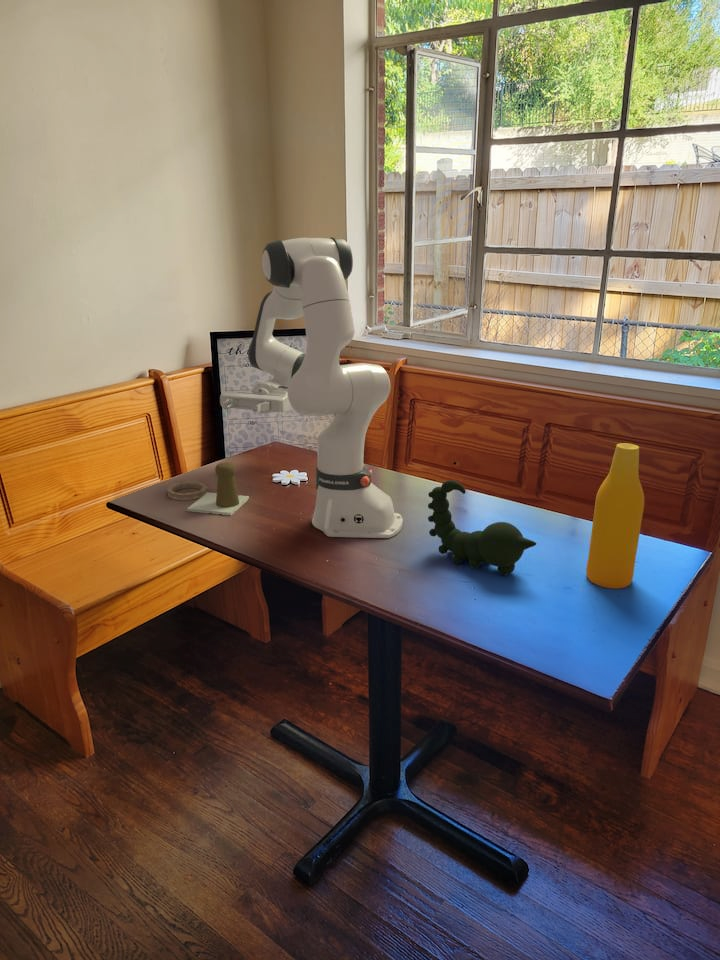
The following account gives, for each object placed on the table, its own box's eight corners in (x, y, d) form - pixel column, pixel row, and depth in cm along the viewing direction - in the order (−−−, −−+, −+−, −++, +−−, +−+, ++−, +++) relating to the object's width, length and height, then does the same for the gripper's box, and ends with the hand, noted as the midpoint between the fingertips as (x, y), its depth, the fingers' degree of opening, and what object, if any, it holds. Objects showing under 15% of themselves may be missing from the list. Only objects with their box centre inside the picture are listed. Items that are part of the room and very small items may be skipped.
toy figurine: (422, 563, 153) (525, 589, 138) (419, 482, 148) (525, 500, 132) (445, 549, 160) (545, 573, 145) (443, 471, 155) (547, 487, 139)
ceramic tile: (249, 499, 185) (248, 496, 185) (231, 515, 174) (230, 512, 174) (207, 495, 188) (207, 492, 188) (187, 511, 177) (187, 508, 177)
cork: (233, 508, 177) (231, 468, 173) (212, 506, 178) (209, 466, 174) (242, 500, 182) (240, 460, 178) (221, 498, 183) (219, 459, 180)
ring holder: (213, 488, 193) (213, 483, 192) (196, 501, 183) (196, 496, 183) (179, 485, 195) (179, 480, 195) (161, 497, 185) (160, 492, 185)
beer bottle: (576, 577, 144) (593, 445, 134) (600, 564, 150) (617, 436, 140) (617, 594, 137) (638, 456, 128) (640, 580, 143) (662, 446, 133)
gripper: (235, 384, 198) (206, 392, 186) (297, 388, 190) (272, 398, 178) (236, 405, 200) (208, 415, 188) (298, 411, 192) (273, 421, 180)
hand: (240, 407), depth 183 cm, fingers open, 8 cm apart
